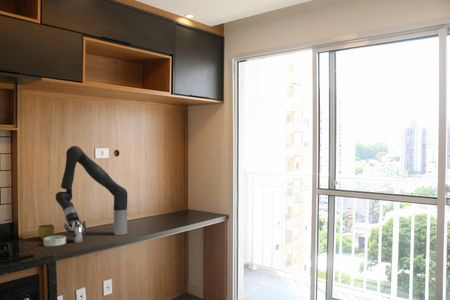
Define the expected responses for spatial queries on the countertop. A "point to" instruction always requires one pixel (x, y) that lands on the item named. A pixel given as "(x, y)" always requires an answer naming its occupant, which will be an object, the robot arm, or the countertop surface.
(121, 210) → the robot arm
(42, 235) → the flower pot
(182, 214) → the countertop surface
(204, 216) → the countertop surface
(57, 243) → the bowl
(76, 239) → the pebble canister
